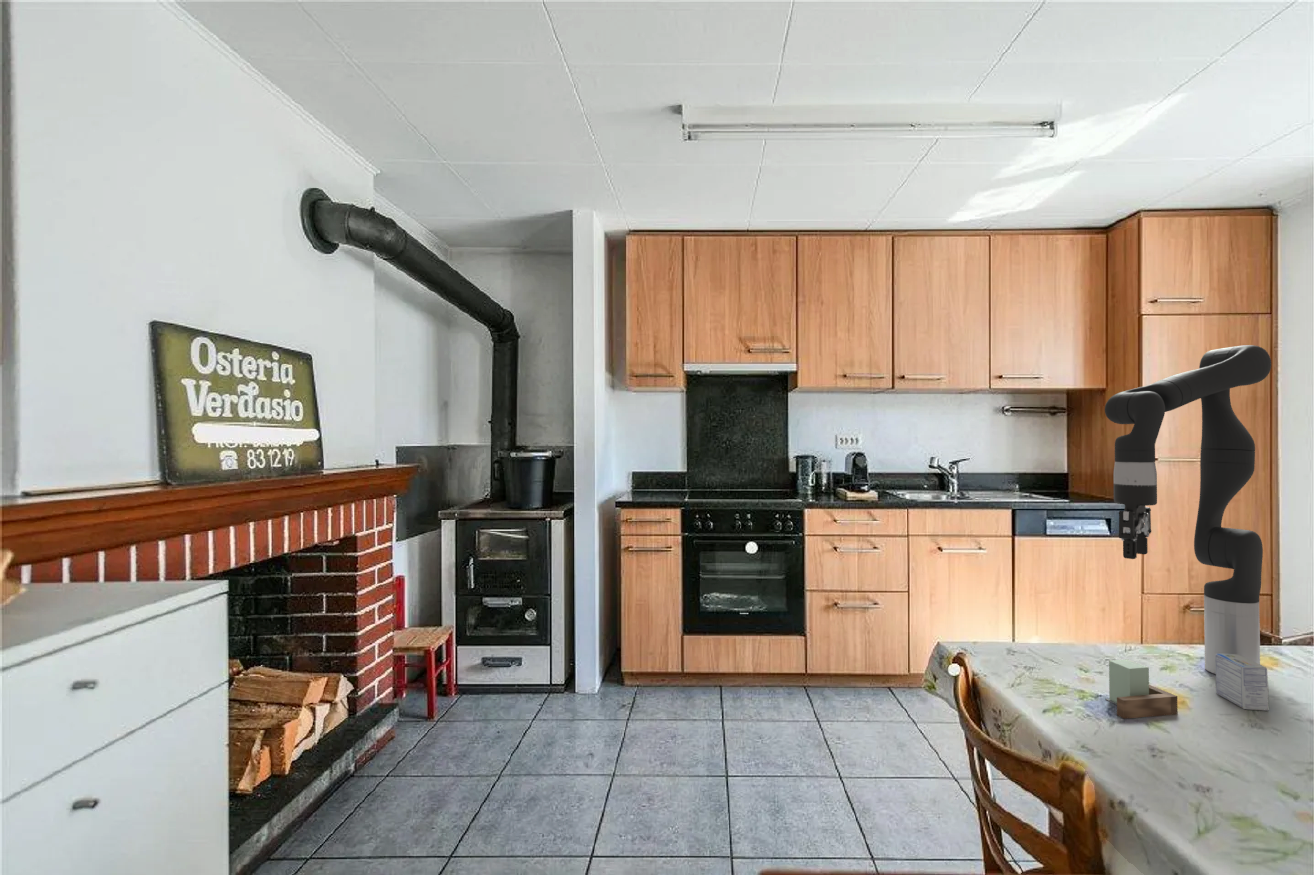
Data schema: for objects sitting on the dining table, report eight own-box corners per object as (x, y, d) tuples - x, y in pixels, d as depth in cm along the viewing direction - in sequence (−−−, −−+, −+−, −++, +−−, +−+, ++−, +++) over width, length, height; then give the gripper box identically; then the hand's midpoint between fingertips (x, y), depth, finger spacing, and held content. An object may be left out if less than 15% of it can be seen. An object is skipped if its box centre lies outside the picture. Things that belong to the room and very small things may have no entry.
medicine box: (1269, 711, 119) (1269, 667, 119) (1242, 709, 120) (1242, 666, 120) (1239, 695, 127) (1239, 653, 127) (1214, 693, 128) (1214, 652, 128)
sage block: (1128, 697, 125) (1127, 659, 125) (1149, 707, 121) (1148, 667, 121) (1109, 699, 124) (1109, 660, 124) (1129, 709, 120) (1129, 668, 120)
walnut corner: (1121, 689, 130) (1121, 673, 130) (1177, 714, 118) (1177, 696, 118) (1072, 693, 128) (1072, 676, 128) (1124, 718, 116) (1123, 700, 116)
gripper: (1147, 485, 126) (1148, 563, 125) (1164, 481, 134) (1165, 554, 134) (1104, 483, 131) (1104, 557, 131) (1123, 480, 140) (1124, 550, 140)
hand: (1135, 556), depth 133 cm, fingers open, 8 cm apart
